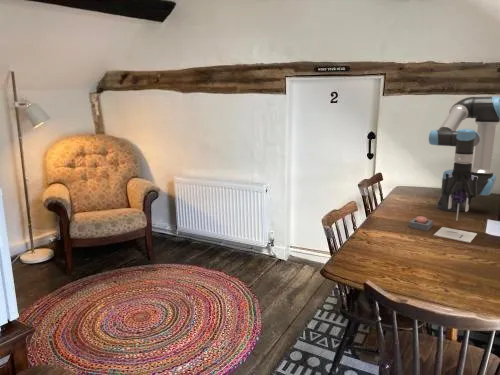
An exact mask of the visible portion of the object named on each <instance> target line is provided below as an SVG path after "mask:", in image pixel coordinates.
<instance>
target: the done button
mask: <svg viewBox="0 0 500 375" xmlns="http://www.w3.org/2000/svg"><path fill="white" fill-rule="evenodd" d="M415 218H416V222H417V223H423V224H426V223H427V220H428V218H427V217H426V216H422V215H421V216H419V215H418V216H416V217H415Z"/></svg>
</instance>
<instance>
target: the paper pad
mask: <svg viewBox="0 0 500 375" xmlns="http://www.w3.org/2000/svg"><path fill="white" fill-rule="evenodd" d="M477 235H478V233H476V232H472V231H465V230H459V229H454V228H450V227H445V226H442V227H440V228H439V229H438V230H437V231H436V232H435V233H434V234H433V236H434V237H440V238H445V239H450V240H455V241H459V242H465V243H471V242H472V241H473V239H475V237H476V236H477Z"/></svg>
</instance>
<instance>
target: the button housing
mask: <svg viewBox="0 0 500 375" xmlns="http://www.w3.org/2000/svg"><path fill="white" fill-rule="evenodd" d="M408 226H409V227H408V228H410V229H416V230H420V231H425V232H428V231H429V230H430V229H431V228H432V227H433V226H434V220H432V219H431V220H430V219H427V223H426V224H423V223H417V222H416V217H414V218H413V219H412V220H410V221H409V224H408Z"/></svg>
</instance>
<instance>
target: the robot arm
mask: <svg viewBox="0 0 500 375" xmlns="http://www.w3.org/2000/svg"><path fill="white" fill-rule="evenodd" d="M466 119H475V121H474V123H476V125H477V129H476V130H475V129H474V128H473V129H472V128H459V126H460V125H461V124H462V122H463V121H464V120H466ZM499 123H500V96H469V97H465V98H462V99H460V100H459V101H457V102H455V103H454V104H453V105H452V106H451V108H450V109H449V112H448V114H447V117H446V118H445V120H444V121H443V122H442V124H441V125H440V127H439V128H438V129H433V130H431V131H430V132H429V134H428V143H429V145H432V146H443V147H444V146H445V147H455V152H454V157H453V158H454V160H453V161H454V162H453V168H452V169H447V170H444V171H443V173H442V177H441V178H442V179H441V180H442V181H441V191H440V196H439V199H437V202H436V208H437V209H439V210H441V211H447V212H456V213H457V207H458V203H455V202H454V201H453V199H452V198H451V195H452V194H453V193H454V192H455V191H457V190H462V191H464V192H465V193H466V195H467V199H466V201H465V202H464V203H461V204H459V212H463V211H464V212H466V213H467V212H468V211H469V207H470V205H472V203H473V198H477V196H478V195H480V196H489V195H491V194H492V192H493V190H494V187H495V184H496V181H497V180H496V179H497V176H496V175H495V174H494V171H493V170H492V169H491V166H492V161H493V159H492V158H493V153H494V152H493V151H494V145H495V144H494V143H495V136H496V128H497V125H498V124H499ZM458 128H459V129H458ZM472 163H473V164H472Z"/></svg>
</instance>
